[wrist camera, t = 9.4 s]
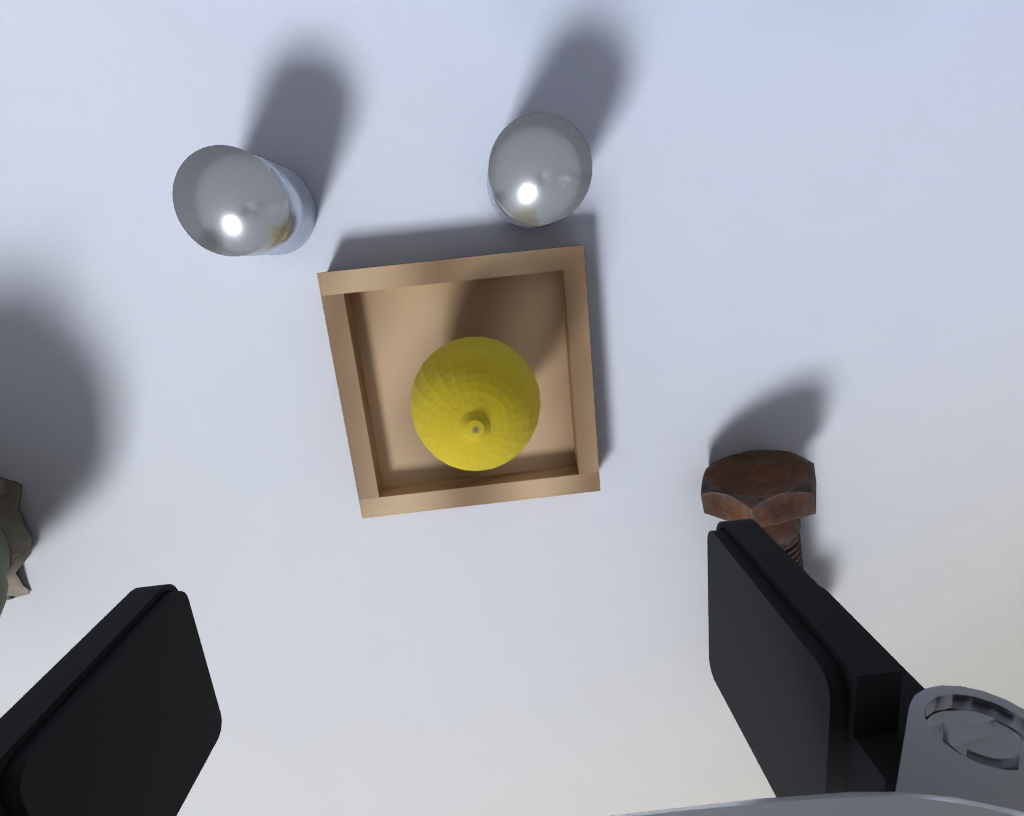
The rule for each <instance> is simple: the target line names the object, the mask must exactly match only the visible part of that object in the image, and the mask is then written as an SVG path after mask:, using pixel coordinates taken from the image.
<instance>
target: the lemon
mask: <svg viewBox="0 0 1024 816" xmlns="http://www.w3.org/2000/svg"><path fill="white" fill-rule="evenodd" d="M540 407H541V403H540V391H539V386H538V383H537V381H536V378H535V375H534V373H533V371H532V369H531V368H530V366H529V365H528V364H527V362H526V361H525V359H524V358H523V357H522V356H521V355H520V354H519V353H517V352H516V351H515V350H514V349H513V348H512V347H510V346H508V345H506V344H504V343H502V342H500V341H498V340H495V339H490V338H486V337H464V338H460V339H457V340H454V341H451V342H448V343H447V344H445V345H444V346H442V347H440V348H439V349H437V350H435V351H434V352H433V353H432V354H431V355H430V356H429V357H428V358H427V360H426V361H425V362H424V363H423V364H422V366H421V368H420V370H419V372H418V373H417V375H416V377H415V380H414V384H413V388H412V392H411V416H412V419H413V423H414V426H415V430H416V432H417V434H418V436H419V437H420V439H421V441H422V442H423V444H424V446H425V447H426V448H427V449H428V450H429V451H430V452H431V453H432V454H433V455H434V456H435V457H436V458H438V459H439V460H441V461H443V462H444V463H446V464H448V465H449V466H452V467H456V468H459V469H462V470H471V471H482V470H488V469H493V468H496V467H498V466H500V465H503V464H505V463H507V462H508V461H510V460H511V459H512V458H514V457H515V456H516V455H518V454H519V453H520V452H521V451H522V450H523V448H524V447H525V446H526V445H527V443H528V442H529V441H530V439H531V437H532V435H533V433H534V431H535V429H536V426H537V424H538V419H539V413H540Z"/></svg>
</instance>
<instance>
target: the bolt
mask: <svg viewBox="0 0 1024 816" xmlns="http://www.w3.org/2000/svg"><path fill="white" fill-rule="evenodd" d="M701 498H702V503H703V509H704V513H706V514H709V515H712V516H715V517H718V518H721V519H724V520H727V521H732V520H741V519H751V518H752V519H753V520H755V521H756V522H757V523H758V524H759V525H760V526H761V527H762V528H763V529H764V530H765V531H766V532H767V533H768V534H769V535H770V537H771V538H772V539H773V540H774V541H775V542H776V543H777V544H778V545H779V546H780V547H781V548H782V549H783V550H784V551H785V552H786V553H787V554H788V555H789V556H790V557H791V558H792V559H793V560H794V561H795V562H796V563H797V564H798V565H799V566H800V567H801V568H802V569H803V559H802V549H801V542H800V532H799V530H800V527H801V525H800V518H801V517H805V516H809V515H812V514H815V513H816V477H815V469H814V463H812V462H810V461H808V460H807V459H805V458H803V457H801V456H799V455H797V454H794V453H791V452H788V451H781V450H757V451H747V452H743V453H740V454H735V455H731V456H728V457H725V458H723V459H721V460H719V461H717V462H716V463H714V464H713V465H711V466H710V467H708V468H707V469H706V471H705V473H704V476H703V480H702V487H701Z"/></svg>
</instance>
